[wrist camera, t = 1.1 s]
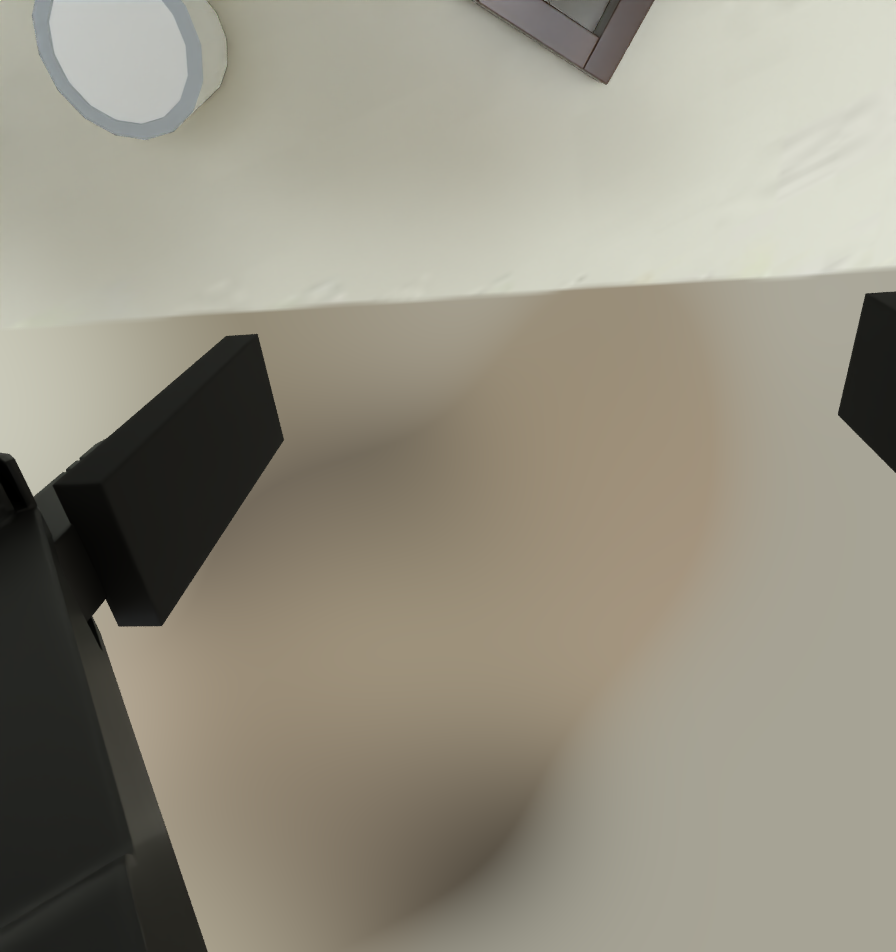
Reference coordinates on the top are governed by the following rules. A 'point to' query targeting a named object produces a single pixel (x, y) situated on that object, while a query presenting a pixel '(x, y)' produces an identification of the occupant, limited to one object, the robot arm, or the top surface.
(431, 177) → the top surface
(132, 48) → the white short cylinder
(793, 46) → the top surface
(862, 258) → the top surface
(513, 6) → the frame
